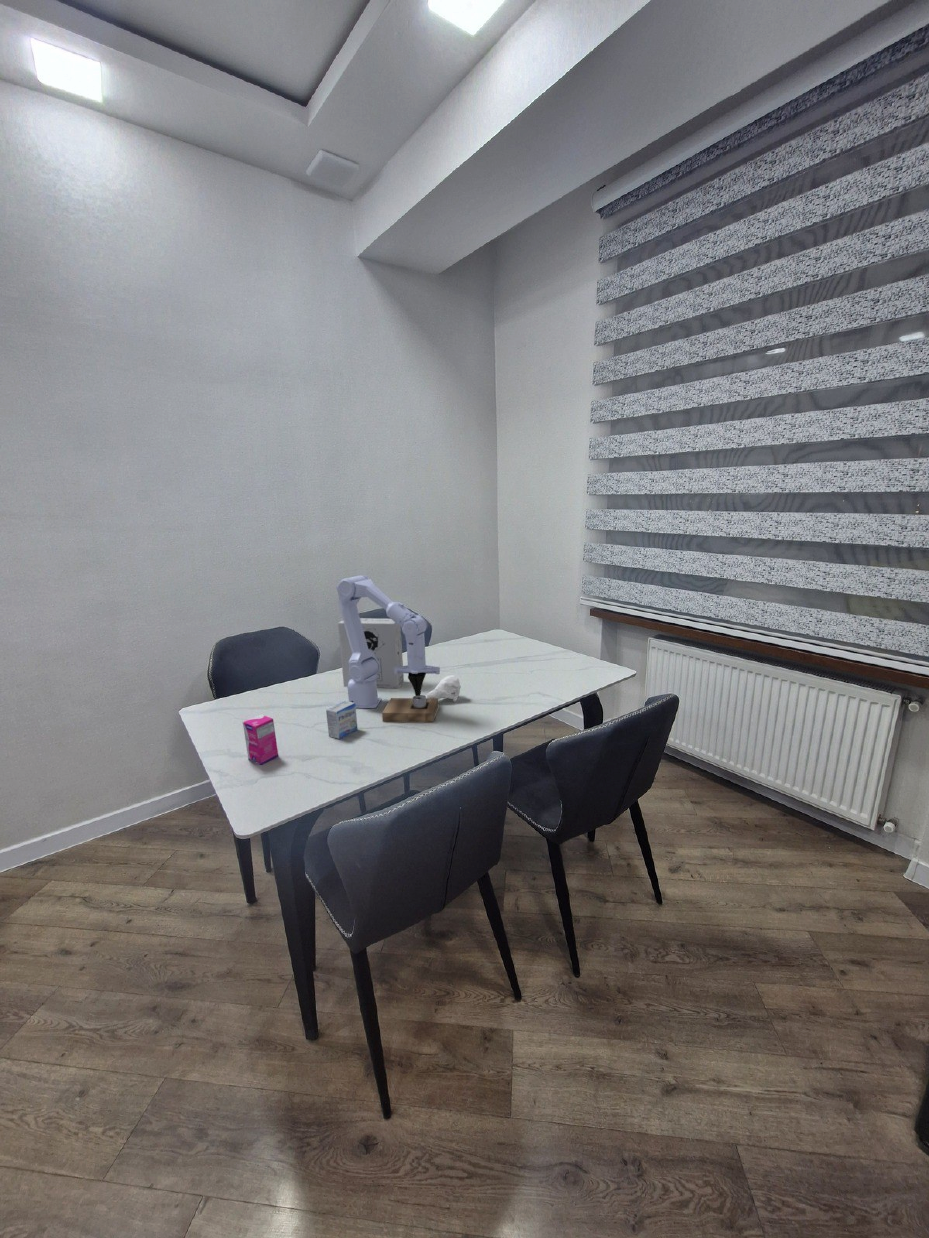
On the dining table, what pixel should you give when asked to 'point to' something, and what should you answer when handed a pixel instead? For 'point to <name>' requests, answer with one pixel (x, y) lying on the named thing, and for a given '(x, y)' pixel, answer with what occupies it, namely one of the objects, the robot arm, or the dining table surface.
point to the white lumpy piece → (446, 689)
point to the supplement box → (260, 739)
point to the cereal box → (377, 650)
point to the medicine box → (341, 719)
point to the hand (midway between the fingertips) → (418, 694)
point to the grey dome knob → (419, 702)
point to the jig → (409, 711)
